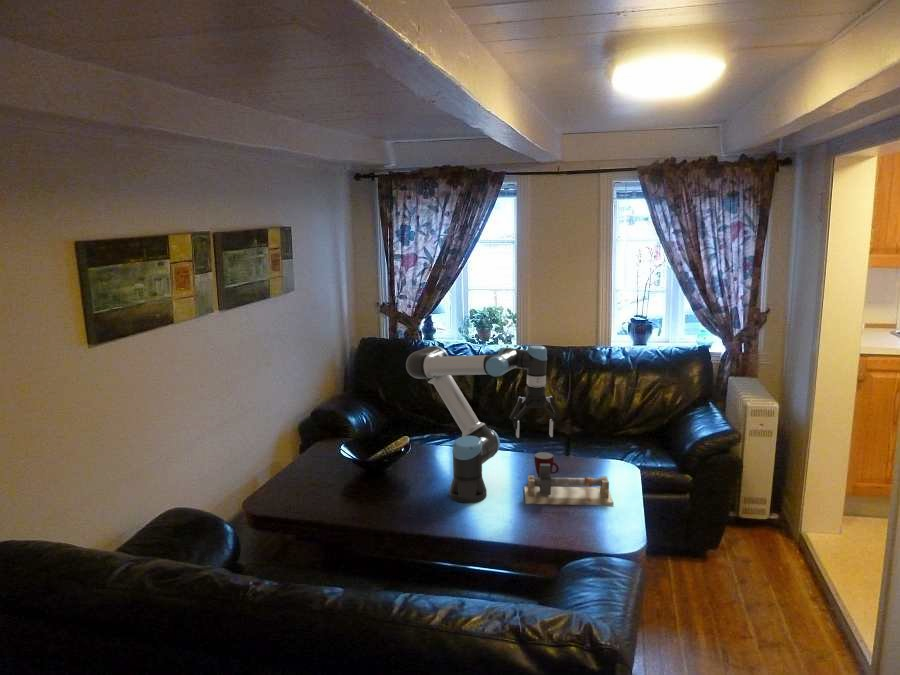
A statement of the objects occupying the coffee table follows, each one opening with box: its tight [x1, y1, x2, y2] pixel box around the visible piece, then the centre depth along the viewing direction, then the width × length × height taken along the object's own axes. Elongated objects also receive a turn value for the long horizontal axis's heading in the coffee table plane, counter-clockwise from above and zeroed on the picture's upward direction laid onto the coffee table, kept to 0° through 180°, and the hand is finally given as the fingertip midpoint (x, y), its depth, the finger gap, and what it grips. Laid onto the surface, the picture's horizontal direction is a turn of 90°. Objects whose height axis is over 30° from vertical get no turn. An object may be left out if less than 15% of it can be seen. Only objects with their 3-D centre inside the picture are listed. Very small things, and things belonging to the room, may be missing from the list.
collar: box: [538, 464, 552, 495], centre depth 254 cm, size 4×8×11 cm, turn 175°
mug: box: [534, 451, 560, 477], centre depth 273 cm, size 11×8×10 cm
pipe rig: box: [523, 474, 614, 506], centre depth 254 cm, size 34×14×8 cm, turn 85°
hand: (534, 436), depth 254 cm, fingers open, 13 cm apart
